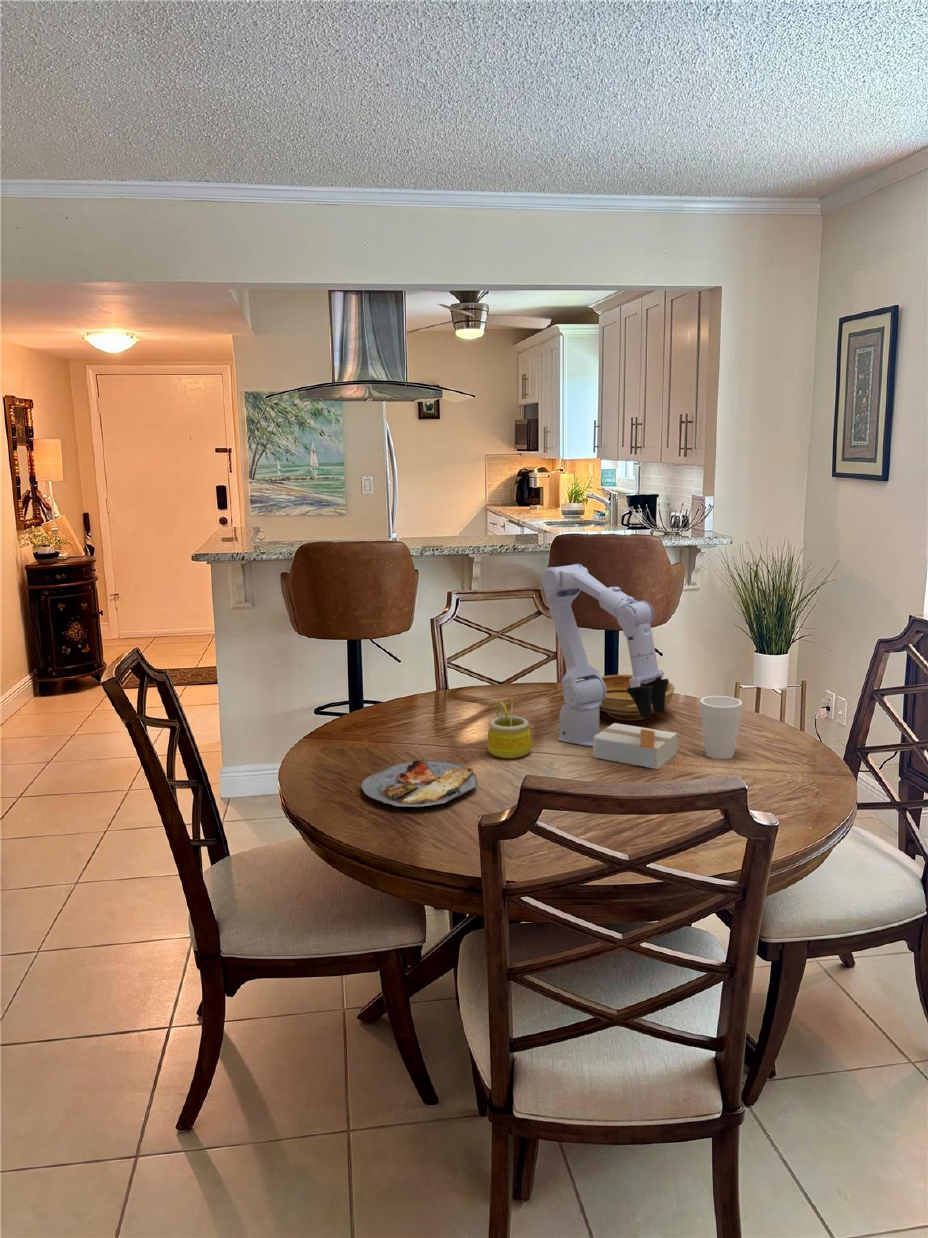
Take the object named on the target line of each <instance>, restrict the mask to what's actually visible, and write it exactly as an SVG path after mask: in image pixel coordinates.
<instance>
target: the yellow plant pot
mask: <svg viewBox="0 0 928 1238" xmlns="http://www.w3.org/2000/svg"><path fill="white" fill-rule="evenodd" d="M514 701H515V699H513V698H511V699H510V702H511V705H510V708H511V709H510V715H508V710H507V706H506V705H505V704H504V703H503V702H502V701H500V702H497V703H496V707H495V713H496V717H495V718H493V719H491V720H490V721H489V722H488V733H487V741H486V748H487V749H488V752H489V753H490V754H491V755H492V756H494V757H498V758H501V759H516V758H521V757H524V756H527V755H528V754H529V753H530V752H531V750H532V748H533V745H534V744H533V735H532V732H531V729H530V721H528V720H527V718H523V717H520V716H516V715H513V705H514V704H513V703H514ZM499 713H500V714H499Z"/></svg>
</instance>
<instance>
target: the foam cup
mask: <svg viewBox="0 0 928 1238" xmlns="http://www.w3.org/2000/svg"><path fill="white" fill-rule="evenodd" d="M699 711H700V717H701V726H702V727H701V729H702V734H703V743H704V744H703V745H704V751H705V753H704V754H705V756H706V757H709V758H711V759H715V760H730V759H732V758H733V757H734V754H735V749H736V744H737V738H738V734H739V733H738V732H739V725H740V721H741V715H742V713H743V701H742V700H741V699H739V698H737V697H731V696H727V695H712V696H711V695H708V696H704V697H701V698H700V699H699Z"/></svg>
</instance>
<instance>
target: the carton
mask: <svg viewBox="0 0 928 1238" xmlns="http://www.w3.org/2000/svg"><path fill="white" fill-rule="evenodd" d="M641 729H645V730H652V731H655V738H654V770H658V769H660V768H661V767H662V766H664V765H665V764H666V763H667V762H668V761H669V760H671V758H673V757H674V756H675V755H677V752H678V751H677V749H678V748H677V746H678V745H677V743H678V741H677V740H678V739H677V738H678V733H677V732H672V731H667V730H666V731H665V730H659V729H653V728H648V727H641V726H635V725H628V724H623V723H622V724H621V723H618V722H617V723H616V722H614V723H612V724H611V725H609V726H607V727H605V728H603V729H602V730H601V731H599V733H598V734H597V735H595V736H594V737H593V746H592V758H594V757H595V759H597V758H596V739H597V738H599V739H604V740H610V741H616V742H622V743H627V744H633V745H639V746H640V740H641ZM599 759H601V758H599ZM601 760H602V759H601ZM604 761H608V760H607V759H604ZM609 761H610V762H611V761H612V760H609ZM612 762H613V761H612ZM620 763H622V764H624V763H623V762H620ZM627 765H629V764H628V763H627ZM631 765H632V766H633V764H631Z"/></svg>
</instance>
